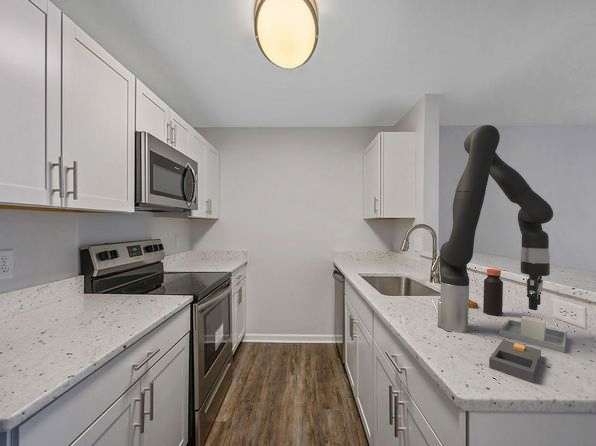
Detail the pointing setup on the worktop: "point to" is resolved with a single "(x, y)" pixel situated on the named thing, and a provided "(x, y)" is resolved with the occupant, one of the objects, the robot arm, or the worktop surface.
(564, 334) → the tray
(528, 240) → the robot arm
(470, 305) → the pastry
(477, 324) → the worktop surface
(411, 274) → the worktop surface
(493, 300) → the bottle
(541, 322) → the block
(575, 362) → the worktop surface
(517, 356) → the grey slotted base
